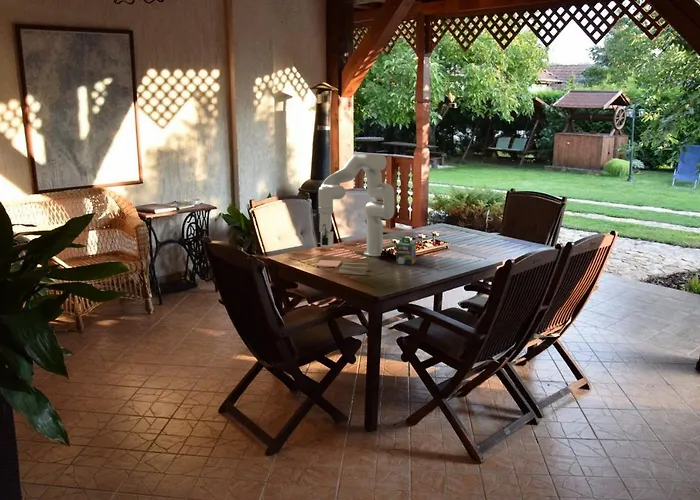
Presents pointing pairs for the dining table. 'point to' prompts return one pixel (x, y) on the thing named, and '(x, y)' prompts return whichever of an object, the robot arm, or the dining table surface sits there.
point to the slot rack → (353, 268)
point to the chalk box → (406, 252)
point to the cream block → (330, 239)
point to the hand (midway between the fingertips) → (326, 243)
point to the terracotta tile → (328, 263)
